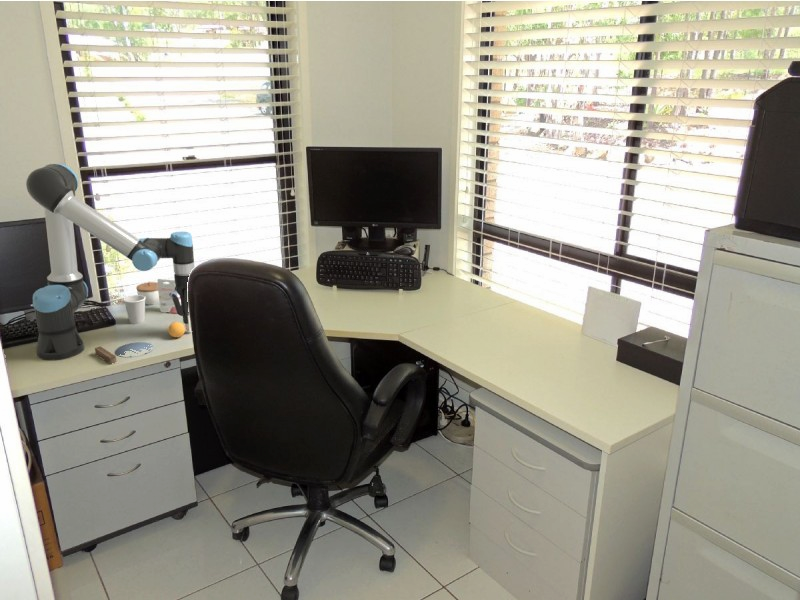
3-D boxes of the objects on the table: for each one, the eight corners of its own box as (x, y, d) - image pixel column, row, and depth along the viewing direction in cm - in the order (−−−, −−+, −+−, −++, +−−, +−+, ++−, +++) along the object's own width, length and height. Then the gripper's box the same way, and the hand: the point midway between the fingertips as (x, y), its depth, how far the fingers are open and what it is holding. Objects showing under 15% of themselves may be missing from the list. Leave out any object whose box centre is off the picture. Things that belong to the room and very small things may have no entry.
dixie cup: (123, 320, 254) (120, 297, 250) (144, 316, 259) (142, 293, 255) (129, 326, 248) (126, 303, 244) (151, 322, 252) (148, 299, 249)
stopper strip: (110, 364, 215) (110, 357, 214) (95, 354, 223) (94, 347, 222) (116, 362, 216) (115, 356, 216) (101, 352, 224) (100, 346, 223)
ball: (174, 341, 235) (172, 326, 233) (166, 336, 239) (164, 322, 237) (188, 336, 239) (187, 322, 237) (180, 332, 243) (179, 318, 241)
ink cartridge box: (184, 309, 267) (181, 277, 262) (178, 313, 262) (175, 280, 257) (166, 308, 268) (162, 275, 263) (160, 312, 263) (156, 279, 258)
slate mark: (125, 360, 218) (125, 360, 218) (108, 349, 226) (108, 349, 226) (160, 349, 228) (160, 349, 227) (143, 339, 236) (143, 339, 236)
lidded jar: (164, 297, 281) (161, 277, 278) (164, 305, 271) (162, 284, 268) (138, 299, 277) (136, 279, 274) (138, 307, 268) (135, 287, 265)
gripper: (194, 267, 242) (198, 323, 250) (163, 274, 233) (169, 332, 240) (205, 271, 237) (209, 328, 245) (174, 278, 228) (179, 337, 236)
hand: (189, 330), depth 243 cm, fingers closed
